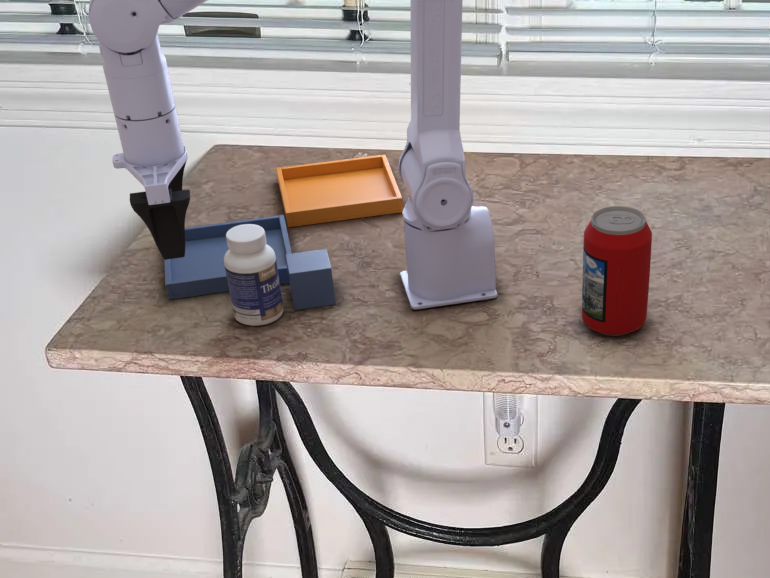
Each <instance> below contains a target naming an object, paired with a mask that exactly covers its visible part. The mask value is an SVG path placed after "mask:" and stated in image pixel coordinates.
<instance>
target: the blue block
mask: <svg viewBox="0 0 770 578" xmlns="http://www.w3.org/2000/svg"><path fill="white" fill-rule="evenodd" d="M285 257H286V263H287V270H288V276H289V283H288V284H289V289H290V294H291V298H292V299H291V300H292V304H293V309H294V311H299V310H300V311H301V310H306V309H313V308H321V307H327V306H336V304H337V302H336V296H335V295H336V294H335V287H334V286H335V285H334V279H333V271H332V265H331V262H330V258H329V253H328V250H327V248H322V249H321V248H320V249H315V250H314V249H313V250H307V251H300V252H291V254H286V255H285Z"/></svg>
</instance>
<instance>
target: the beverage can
mask: <svg viewBox="0 0 770 578" xmlns="http://www.w3.org/2000/svg"><path fill="white" fill-rule="evenodd" d="M652 242H653V232H652V230H651V228H650V225H649V224H648V222H647V218H646V215H645V214H644V213H643V212H642V211H640V210H638V209H636V208H634V207H630V206H623V205H621V206H620V205H614V206H613V205H612V206H606V207H603V208H599V209H598V210H596V211H595V212H593V214H592V215H591V217H590V220H589V222H588V224H587V226H586V227H585V229H584V231H583V247H582V248H583V249H582V278H581V279H582V283H581V284H582V285H581V289H582V290H581V319H582V321H583V323H584V324H585V326H586V327H588V328H590V329H591V330H593V331H595V332H597V333H599V334H602V335H605V336H613V337H615V336H623V335H627V334H630V333H632V332H635V331H637V330H639V329H640V328H641V327H643V326H644V325H645V324H646V321H647V316H648V315H647V314H648V304H649V289H650V275H651V263H652V262H651V261H652V260H651V259H652V246H653V245H652V244H653V243H652Z"/></svg>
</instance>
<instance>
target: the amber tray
mask: <svg viewBox="0 0 770 578" xmlns="http://www.w3.org/2000/svg"><path fill="white" fill-rule="evenodd" d="M275 170H276V176H277V183H278V187H279V188H278V189H279V192H280V196H281V202H282V206H283V211H284V217H285V222H286V226H287V228H294V227H302V226H309V225H315V224H324V223H331V222H340V221H347V220H355V219H362V218H369V217H376V216H383V215H392V214H400V213H403V208H404V201H403V196H402V194H401V190H400V188H399V186H398V183H397V181H396V178H395V176H394V173H393V171H392V167H391V165H390V163H389V160H388V157H387V155H386V154H377V155H370V156H368V155H367V156H362V157H360V156H359V157H353V158H345V159H336V160H330V161H323V162H322V161H320V162H314V163H305V164H304V163H303V164H297V165H288V166H282V167H280V166H279V167H276V168H275Z"/></svg>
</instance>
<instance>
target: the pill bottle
mask: <svg viewBox="0 0 770 578" xmlns="http://www.w3.org/2000/svg"><path fill="white" fill-rule="evenodd" d="M226 239H227V246H228V248H229V250H228V251H227V252H226V254H225V256H224V266H225V271H226V276H227V281H228V287H229V291H228V292H229V298H230V302H231V308H232V313H233V317H234V319H235V320H236V321H237V322H239V323H240V324H243V325H245V326H252V327H257V326H258V327H259V326H265V325H270V324H272V323H273V322H275V321H277V320H278V319H280V318H281V317H282V315H283V313H284V303H283V295H282V288H281V284H280V282H279V275H278V268H277V262H276V256H275V252H274V250H273V249H272V248H271V247H270V246H269V245H267V244H266V243H267V242H266V235H265V231H264V229H263V228H262V227H261V226H259V225H255V224H243V225H238V226H235V227H233V228H231V229H230V230H228V232H227V233H226Z"/></svg>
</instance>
